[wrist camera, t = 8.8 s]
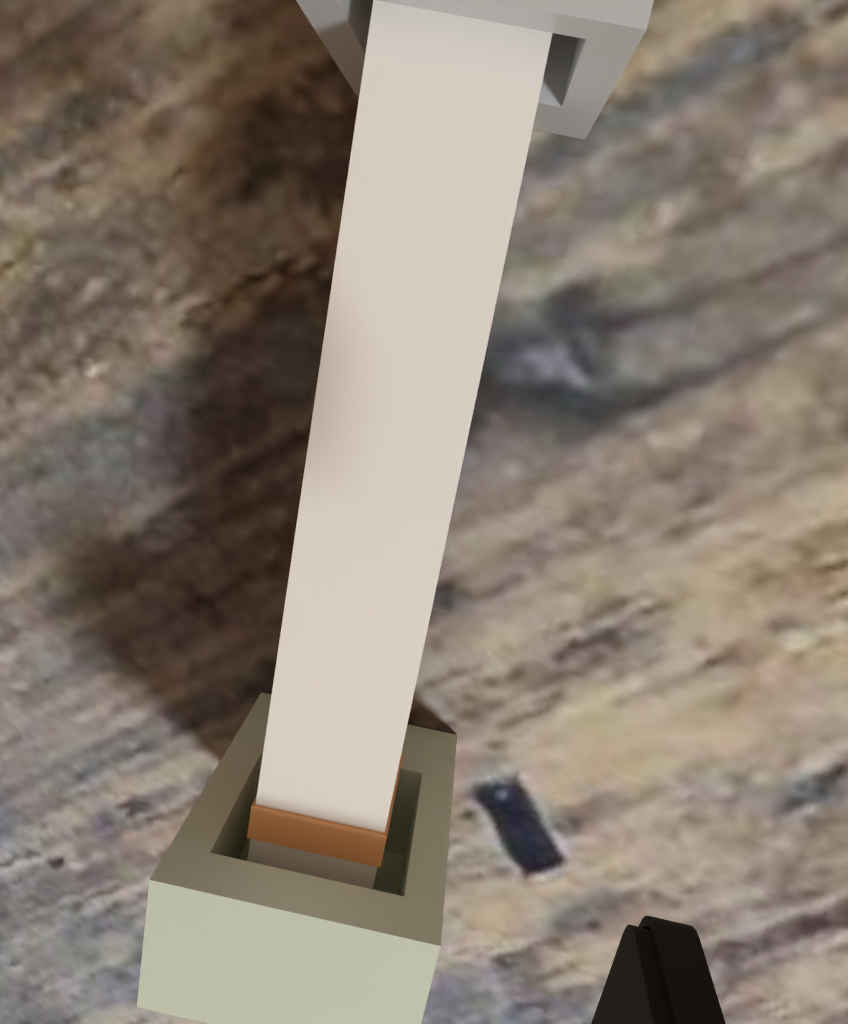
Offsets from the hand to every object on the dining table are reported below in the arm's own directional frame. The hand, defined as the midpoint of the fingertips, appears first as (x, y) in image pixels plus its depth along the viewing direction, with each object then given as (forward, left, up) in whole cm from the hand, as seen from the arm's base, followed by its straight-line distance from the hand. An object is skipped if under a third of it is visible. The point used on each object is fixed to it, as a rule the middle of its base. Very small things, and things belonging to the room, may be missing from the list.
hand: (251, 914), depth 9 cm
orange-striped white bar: (-3, 0, -12) cm, 12 cm away
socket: (+8, 0, -15) cm, 17 cm away
